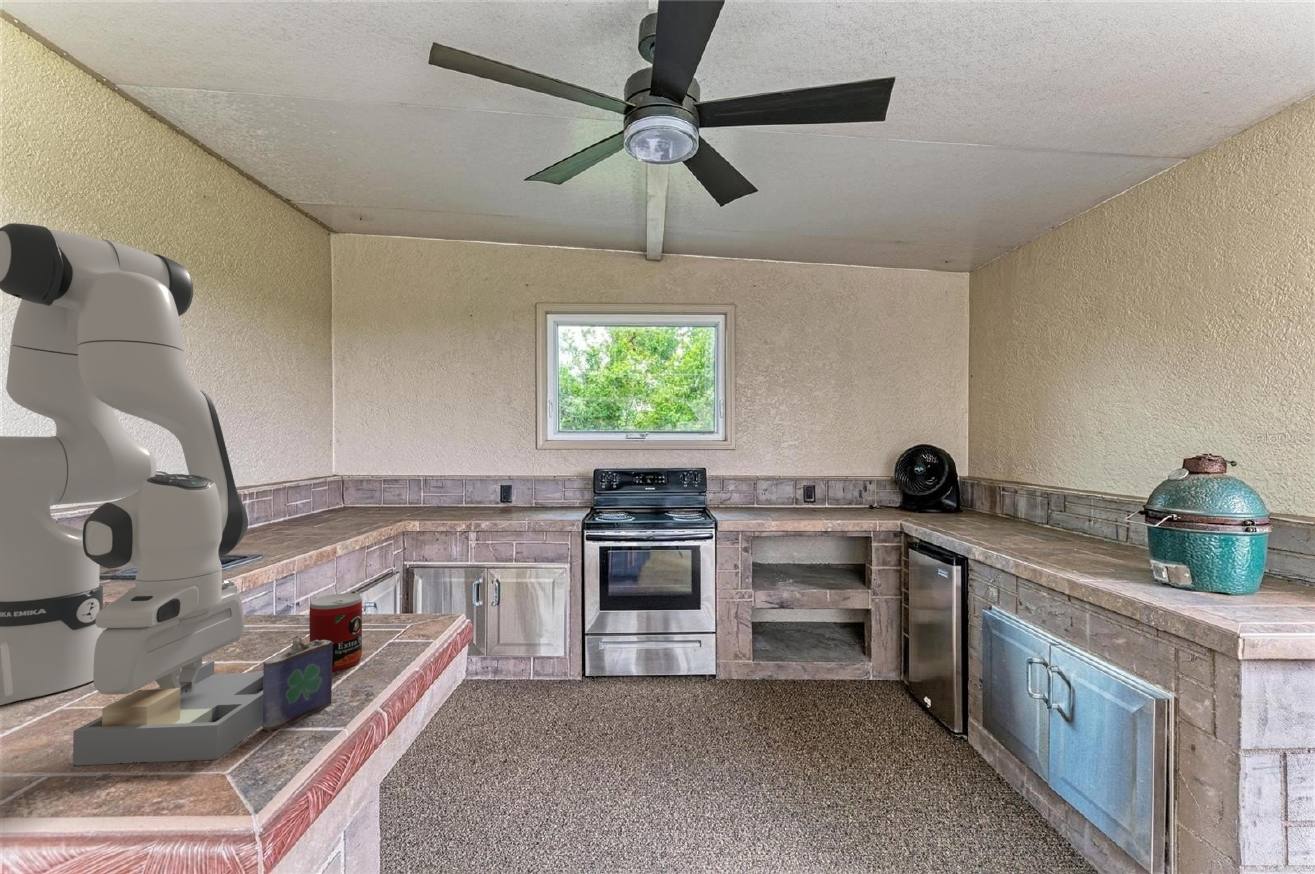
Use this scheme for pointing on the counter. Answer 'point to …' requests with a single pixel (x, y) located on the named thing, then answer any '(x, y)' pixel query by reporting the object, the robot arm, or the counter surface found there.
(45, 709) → the counter surface
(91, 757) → the grey compartment tray
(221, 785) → the counter surface
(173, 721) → the maple block
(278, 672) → the flask
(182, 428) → the robot arm
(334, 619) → the canned food
